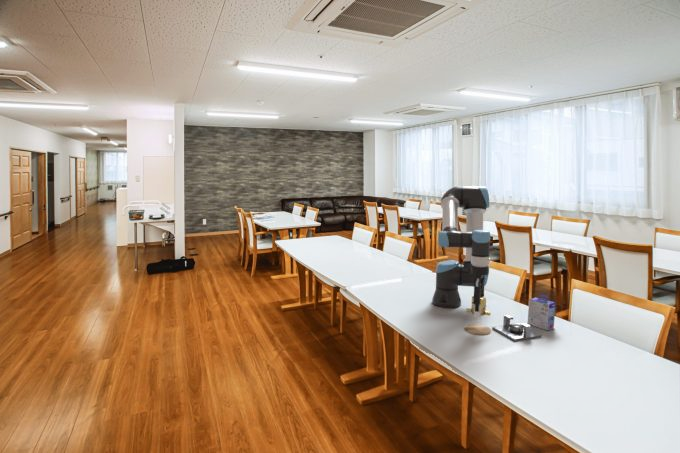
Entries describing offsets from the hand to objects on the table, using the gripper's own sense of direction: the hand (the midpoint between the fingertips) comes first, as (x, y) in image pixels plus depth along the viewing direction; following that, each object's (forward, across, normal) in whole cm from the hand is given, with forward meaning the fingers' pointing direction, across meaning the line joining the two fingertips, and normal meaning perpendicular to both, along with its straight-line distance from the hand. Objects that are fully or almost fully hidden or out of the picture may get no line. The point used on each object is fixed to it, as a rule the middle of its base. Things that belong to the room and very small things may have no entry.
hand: (478, 315), depth 172 cm
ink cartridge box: (+7, +18, -25) cm, 31 cm away
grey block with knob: (+7, +4, -16) cm, 18 cm away
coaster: (+7, 0, 0) cm, 7 cm away
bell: (-1, 0, 0) cm, 1 cm away
